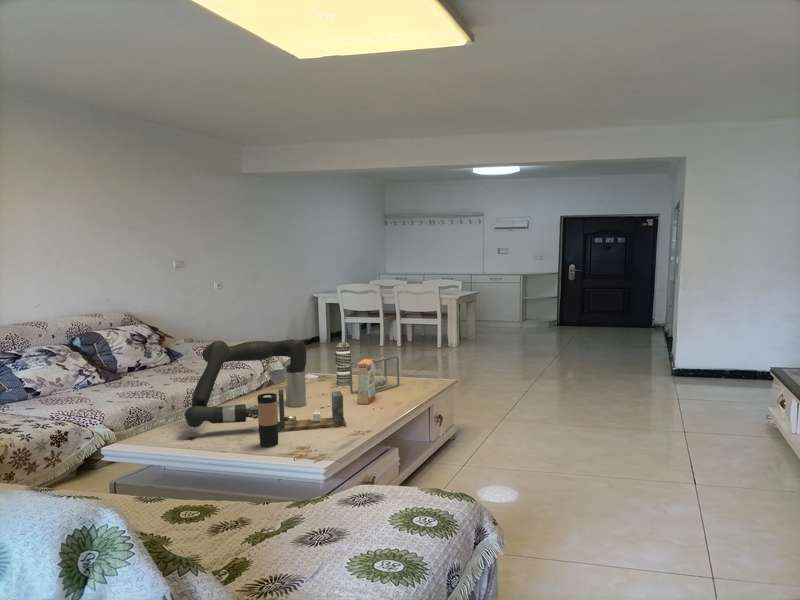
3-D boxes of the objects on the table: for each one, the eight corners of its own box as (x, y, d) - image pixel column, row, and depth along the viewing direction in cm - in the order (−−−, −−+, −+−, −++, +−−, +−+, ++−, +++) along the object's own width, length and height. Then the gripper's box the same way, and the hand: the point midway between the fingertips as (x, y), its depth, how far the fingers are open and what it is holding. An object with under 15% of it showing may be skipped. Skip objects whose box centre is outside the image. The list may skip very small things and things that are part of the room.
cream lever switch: (313, 421, 266) (313, 414, 266) (312, 416, 273) (312, 410, 273) (320, 420, 267) (320, 413, 266) (319, 416, 273) (319, 409, 273)
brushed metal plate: (280, 426, 260) (278, 394, 259) (279, 421, 269) (278, 390, 268) (296, 425, 262) (295, 393, 260) (295, 419, 270) (294, 389, 269)
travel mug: (260, 442, 246) (258, 393, 244) (279, 441, 246) (277, 392, 245) (258, 448, 238) (255, 397, 237) (277, 447, 239) (275, 397, 237)
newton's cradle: (364, 396, 320) (363, 363, 319) (350, 394, 327) (349, 361, 325) (399, 386, 344) (399, 355, 342) (385, 384, 350) (384, 353, 349)
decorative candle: (345, 388, 341) (344, 344, 339) (332, 387, 346) (331, 343, 344) (355, 385, 348) (354, 342, 346) (342, 383, 353) (341, 341, 351)
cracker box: (369, 404, 302) (368, 363, 301) (357, 404, 303) (356, 363, 302) (376, 398, 316) (374, 358, 314) (364, 398, 317) (363, 358, 316)
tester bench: (271, 432, 259) (270, 401, 258) (271, 425, 269) (270, 395, 268) (346, 426, 265) (345, 396, 264) (343, 419, 276) (342, 390, 275)
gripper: (233, 408, 254) (275, 405, 257) (235, 401, 266) (275, 398, 270) (233, 426, 254) (276, 423, 258) (235, 418, 267) (275, 415, 270)
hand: (275, 410), depth 264 cm, fingers closed
